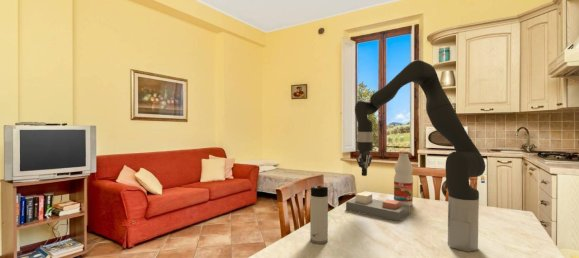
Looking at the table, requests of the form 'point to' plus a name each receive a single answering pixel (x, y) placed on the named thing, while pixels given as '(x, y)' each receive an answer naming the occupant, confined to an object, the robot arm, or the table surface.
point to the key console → (378, 209)
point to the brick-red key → (391, 204)
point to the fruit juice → (403, 180)
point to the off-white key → (364, 198)
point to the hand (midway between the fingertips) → (364, 175)
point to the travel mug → (319, 215)
